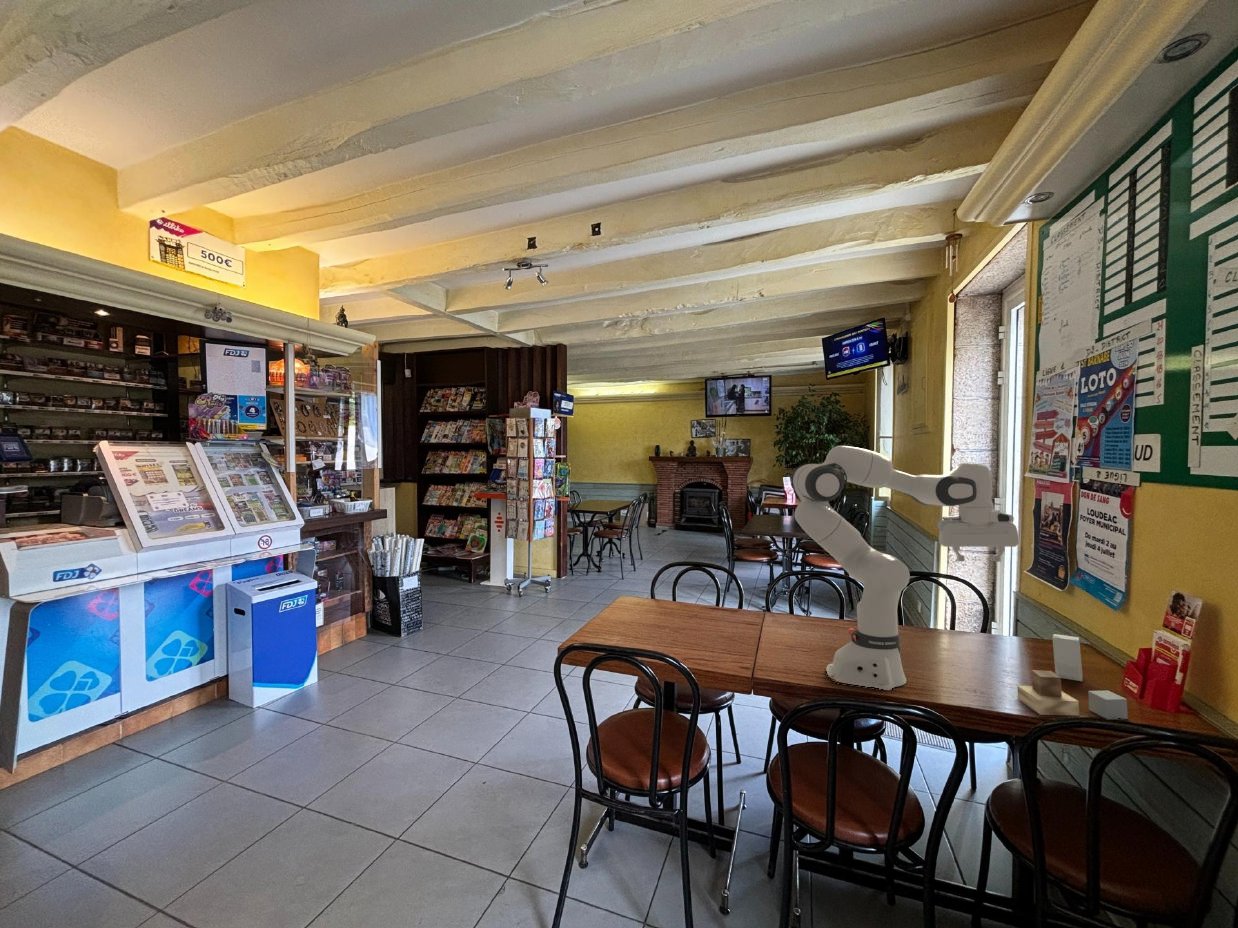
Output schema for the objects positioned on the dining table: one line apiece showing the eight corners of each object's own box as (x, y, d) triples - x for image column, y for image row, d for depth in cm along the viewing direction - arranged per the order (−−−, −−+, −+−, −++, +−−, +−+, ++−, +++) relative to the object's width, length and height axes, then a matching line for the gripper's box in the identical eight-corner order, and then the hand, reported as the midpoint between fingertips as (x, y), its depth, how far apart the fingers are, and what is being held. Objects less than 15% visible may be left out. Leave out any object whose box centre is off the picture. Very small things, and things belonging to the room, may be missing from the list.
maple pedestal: (1040, 715, 131) (1039, 700, 131) (1018, 700, 140) (1017, 685, 140) (1079, 716, 129) (1078, 701, 129) (1054, 700, 138) (1053, 686, 138)
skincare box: (1082, 677, 151) (1080, 636, 151) (1082, 682, 148) (1080, 640, 148) (1055, 672, 155) (1053, 632, 156) (1054, 677, 152) (1052, 636, 152)
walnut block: (1041, 695, 133) (1040, 676, 133) (1032, 688, 138) (1031, 669, 138) (1061, 697, 132) (1060, 677, 132) (1052, 689, 136) (1051, 670, 136)
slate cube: (1107, 719, 127) (1106, 699, 127) (1089, 710, 132) (1088, 690, 132) (1127, 719, 127) (1126, 698, 127) (1109, 709, 132) (1108, 690, 132)
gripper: (940, 517, 155) (943, 562, 155) (1020, 516, 149) (1022, 563, 149) (934, 515, 161) (936, 559, 161) (1010, 514, 155) (1012, 559, 155)
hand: (978, 561), depth 155 cm, fingers open, 8 cm apart
